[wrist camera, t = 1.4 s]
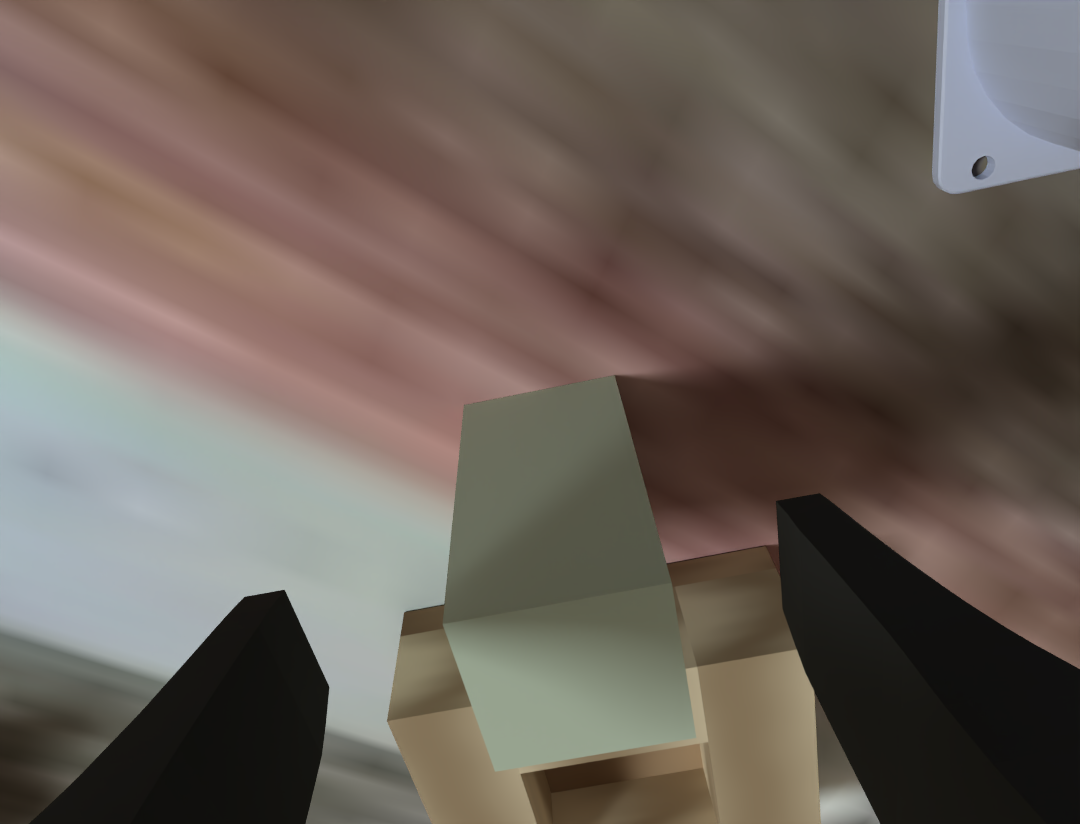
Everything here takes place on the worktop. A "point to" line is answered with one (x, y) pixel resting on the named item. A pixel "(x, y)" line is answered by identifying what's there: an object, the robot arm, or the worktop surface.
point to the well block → (646, 772)
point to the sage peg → (561, 582)
